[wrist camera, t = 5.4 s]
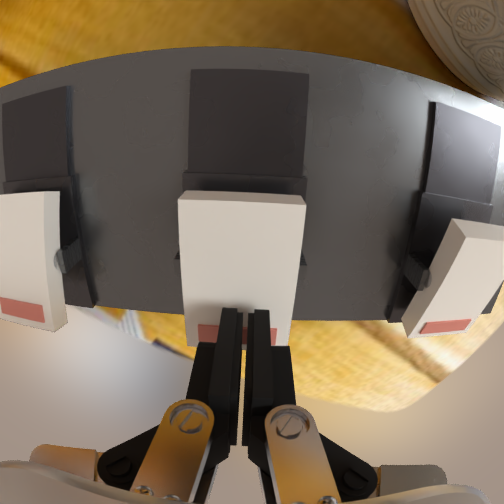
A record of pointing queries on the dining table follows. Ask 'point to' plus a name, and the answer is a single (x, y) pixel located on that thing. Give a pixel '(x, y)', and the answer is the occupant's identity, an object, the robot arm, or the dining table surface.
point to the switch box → (252, 168)
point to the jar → (466, 39)
